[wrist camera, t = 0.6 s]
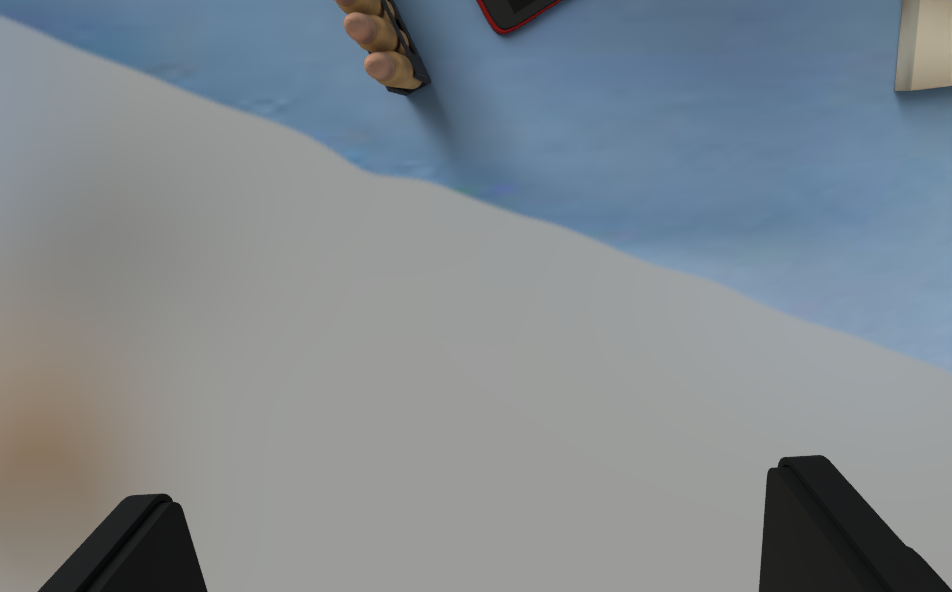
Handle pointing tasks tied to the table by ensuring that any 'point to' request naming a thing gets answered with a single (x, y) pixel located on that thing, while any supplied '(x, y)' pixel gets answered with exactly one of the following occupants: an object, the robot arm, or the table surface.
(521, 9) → the cell phone
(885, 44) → the table surface
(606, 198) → the table surface
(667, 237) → the table surface
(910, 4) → the hole plate
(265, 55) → the table surface
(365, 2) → the ammunition clip
